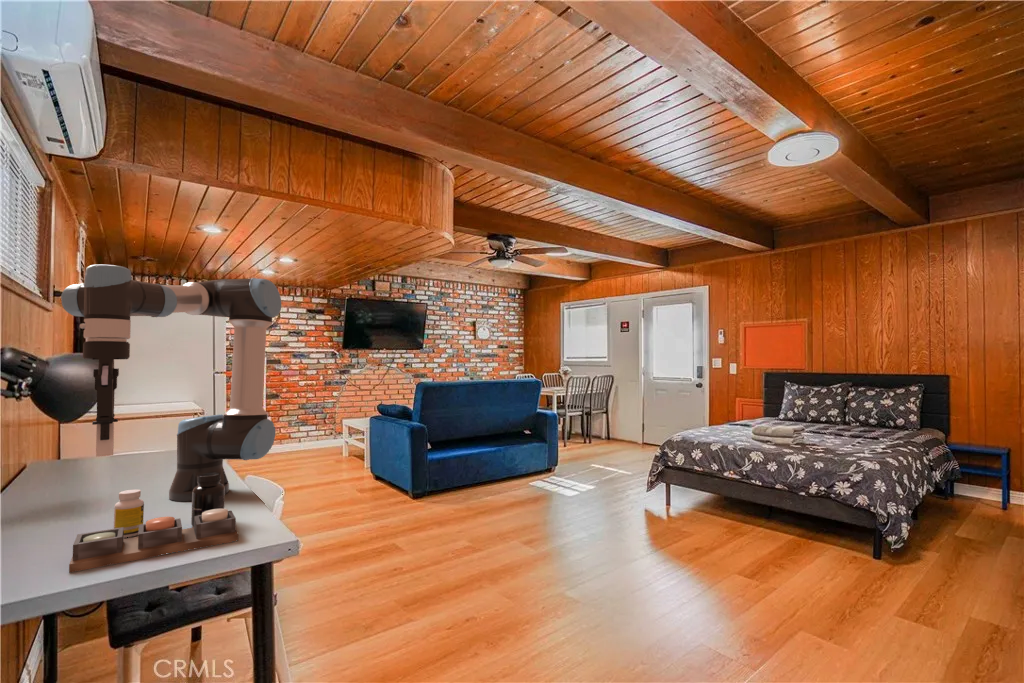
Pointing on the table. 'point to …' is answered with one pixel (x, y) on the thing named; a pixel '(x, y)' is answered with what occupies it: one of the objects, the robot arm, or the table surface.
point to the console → (150, 542)
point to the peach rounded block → (214, 515)
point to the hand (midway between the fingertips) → (104, 455)
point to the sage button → (99, 536)
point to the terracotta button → (160, 523)
